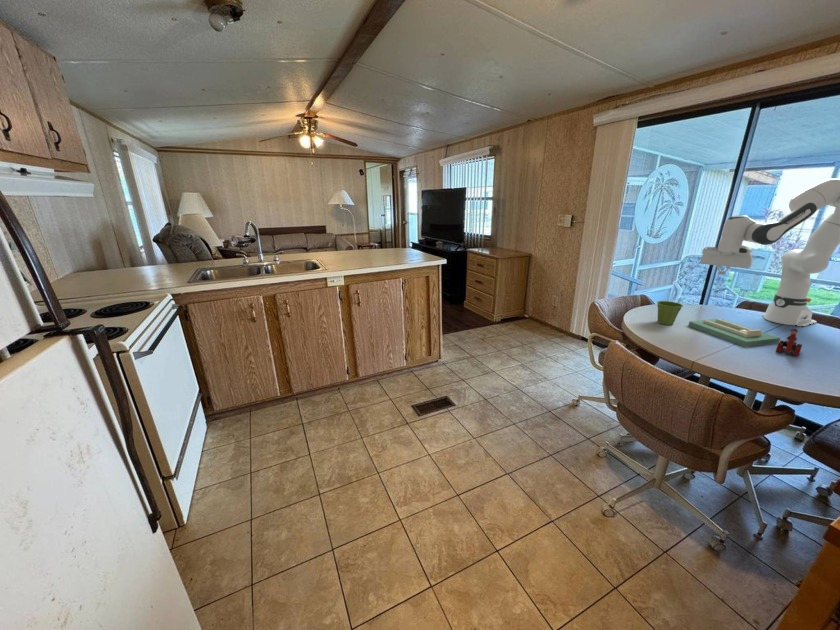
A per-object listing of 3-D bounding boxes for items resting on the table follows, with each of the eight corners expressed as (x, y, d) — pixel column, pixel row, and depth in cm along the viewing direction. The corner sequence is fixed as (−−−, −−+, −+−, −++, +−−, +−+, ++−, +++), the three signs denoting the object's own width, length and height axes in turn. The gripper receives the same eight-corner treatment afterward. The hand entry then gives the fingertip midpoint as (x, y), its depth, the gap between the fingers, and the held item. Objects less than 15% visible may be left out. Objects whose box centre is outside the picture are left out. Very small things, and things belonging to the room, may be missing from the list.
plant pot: (683, 326, 180) (689, 306, 176) (661, 327, 180) (666, 307, 176) (668, 319, 191) (672, 300, 187) (647, 319, 191) (651, 300, 187)
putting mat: (688, 325, 180) (690, 316, 179) (718, 322, 184) (721, 313, 182) (744, 346, 154) (748, 335, 153) (778, 342, 158) (782, 332, 156)
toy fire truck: (800, 350, 150) (808, 329, 146) (797, 358, 142) (806, 336, 139) (778, 346, 155) (786, 325, 152) (774, 353, 148) (782, 331, 144)
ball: (735, 332, 167) (739, 327, 164) (745, 334, 166) (749, 329, 163) (736, 338, 165) (740, 333, 162) (746, 340, 163) (751, 335, 160)
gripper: (702, 246, 178) (695, 272, 182) (754, 250, 163) (746, 278, 168) (705, 245, 182) (698, 270, 186) (756, 249, 167) (748, 276, 171)
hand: (721, 274), depth 177 cm, fingers closed
